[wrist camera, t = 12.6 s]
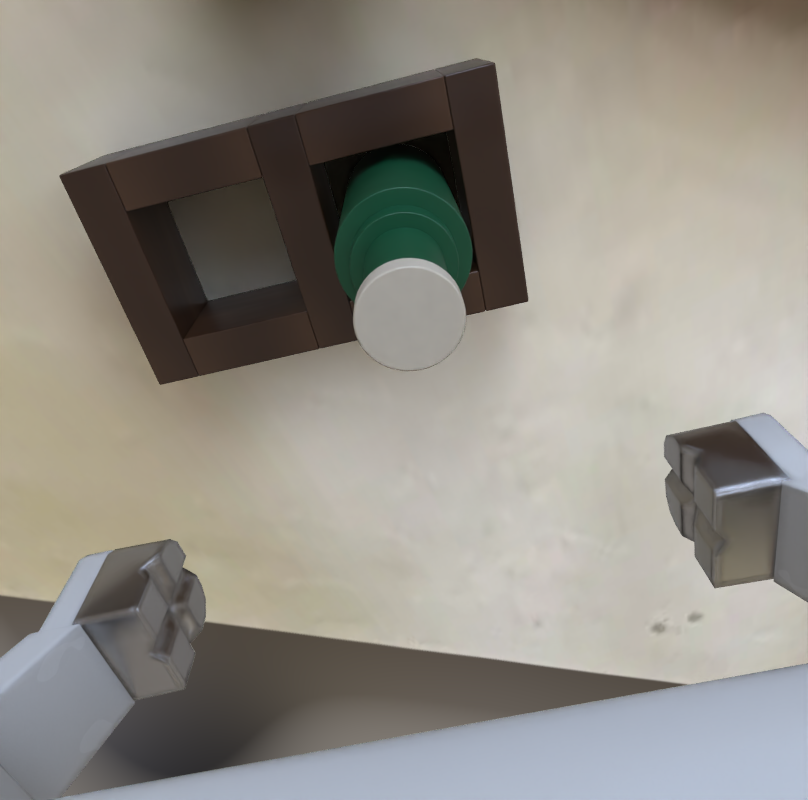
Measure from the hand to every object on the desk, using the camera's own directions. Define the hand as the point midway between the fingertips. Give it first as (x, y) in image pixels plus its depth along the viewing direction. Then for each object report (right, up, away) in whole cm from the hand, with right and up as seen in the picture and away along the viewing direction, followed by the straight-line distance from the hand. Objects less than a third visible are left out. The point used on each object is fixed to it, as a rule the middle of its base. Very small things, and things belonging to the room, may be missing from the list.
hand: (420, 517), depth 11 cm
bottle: (-1, +12, +21) cm, 24 cm away
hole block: (-5, +11, +21) cm, 25 cm away
